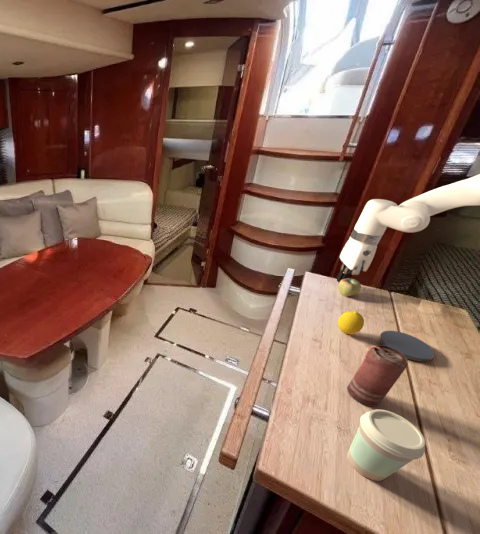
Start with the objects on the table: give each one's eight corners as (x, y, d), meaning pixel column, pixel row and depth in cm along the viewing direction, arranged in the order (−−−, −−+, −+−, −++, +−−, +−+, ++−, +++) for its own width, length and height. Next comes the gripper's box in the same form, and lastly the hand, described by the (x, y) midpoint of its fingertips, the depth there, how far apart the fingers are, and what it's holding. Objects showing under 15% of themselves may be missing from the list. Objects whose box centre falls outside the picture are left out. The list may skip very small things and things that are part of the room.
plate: (415, 337, 89) (417, 334, 88) (442, 366, 80) (445, 362, 79) (370, 331, 92) (372, 327, 91) (391, 358, 82) (394, 354, 82)
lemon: (332, 324, 95) (343, 304, 91) (355, 330, 92) (367, 309, 88) (334, 335, 91) (345, 314, 87) (358, 342, 88) (370, 320, 84)
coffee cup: (394, 462, 60) (428, 425, 54) (394, 500, 54) (432, 464, 48) (340, 434, 65) (366, 398, 59) (335, 466, 59) (362, 430, 53)
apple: (359, 292, 109) (366, 278, 106) (353, 301, 104) (361, 287, 102) (338, 285, 113) (345, 272, 110) (332, 294, 108) (339, 280, 106)
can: (348, 380, 77) (374, 339, 70) (381, 397, 72) (412, 354, 65) (341, 394, 73) (367, 352, 66) (375, 412, 69) (407, 369, 62)
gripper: (391, 247, 95) (363, 294, 105) (367, 229, 108) (344, 272, 117) (363, 244, 97) (338, 291, 107) (342, 226, 109) (322, 270, 119)
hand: (341, 281), depth 112 cm, fingers closed
